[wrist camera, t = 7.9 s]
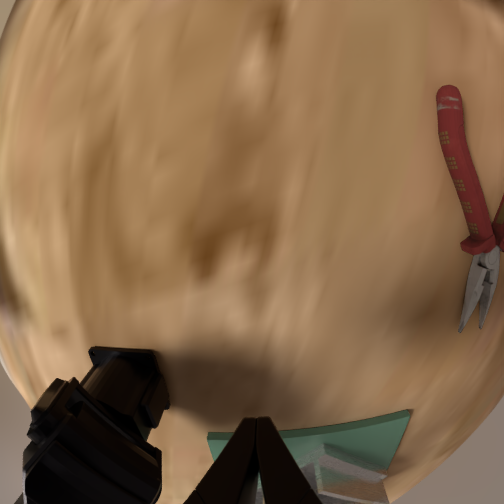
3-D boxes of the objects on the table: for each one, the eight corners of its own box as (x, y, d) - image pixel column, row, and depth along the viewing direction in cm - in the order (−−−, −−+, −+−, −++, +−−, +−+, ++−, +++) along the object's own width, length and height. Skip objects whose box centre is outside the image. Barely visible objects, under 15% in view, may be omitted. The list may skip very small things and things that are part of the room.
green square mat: (234, 507, 29) (233, 512, 28) (208, 432, 24) (206, 439, 23) (370, 492, 28) (371, 497, 27) (406, 409, 23) (410, 415, 22)
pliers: (415, 333, 21) (429, 348, 19) (427, 85, 16) (445, 77, 13) (499, 316, 21) (513, 327, 18) (514, 115, 16) (532, 113, 13)
